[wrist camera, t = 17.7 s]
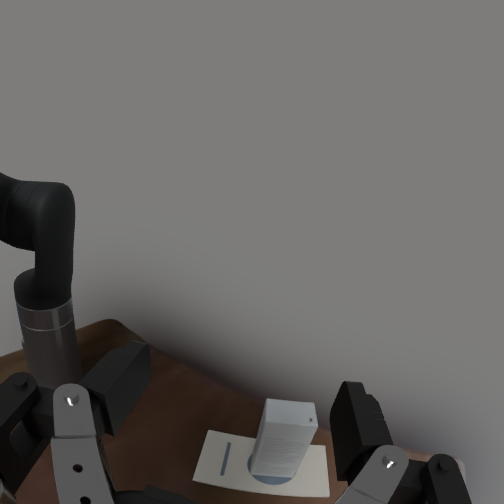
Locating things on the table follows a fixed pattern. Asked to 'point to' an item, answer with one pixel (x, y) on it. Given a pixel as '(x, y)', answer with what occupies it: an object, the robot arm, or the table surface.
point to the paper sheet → (239, 478)
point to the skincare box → (283, 437)
